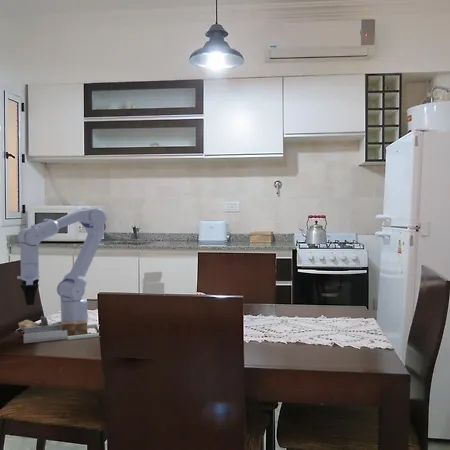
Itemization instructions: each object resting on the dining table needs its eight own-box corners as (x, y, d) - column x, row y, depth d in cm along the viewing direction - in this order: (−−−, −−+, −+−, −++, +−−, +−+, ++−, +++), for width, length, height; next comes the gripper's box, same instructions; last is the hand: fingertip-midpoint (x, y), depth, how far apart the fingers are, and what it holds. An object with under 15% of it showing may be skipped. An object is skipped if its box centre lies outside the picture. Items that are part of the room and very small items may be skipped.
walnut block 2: (86, 331, 157) (86, 320, 156) (87, 334, 153) (87, 322, 153) (74, 332, 155) (73, 321, 155) (74, 336, 151) (74, 324, 151)
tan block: (49, 331, 158) (36, 326, 164) (46, 317, 157) (33, 313, 163) (34, 338, 154) (21, 333, 160) (30, 324, 153) (17, 320, 159)
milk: (143, 337, 152) (142, 271, 151) (161, 335, 154) (160, 270, 153) (146, 342, 146) (145, 273, 145) (165, 340, 148) (164, 272, 147)
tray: (98, 328, 163) (98, 323, 162) (103, 338, 150) (102, 333, 150) (65, 331, 158) (65, 326, 158) (67, 342, 146) (67, 337, 146)
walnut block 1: (74, 332, 155) (73, 320, 155) (74, 335, 151) (74, 323, 151) (61, 333, 154) (61, 321, 153) (62, 336, 150) (61, 324, 150)
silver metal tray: (65, 332, 157) (65, 323, 157) (67, 340, 148) (67, 330, 148) (24, 336, 152) (24, 327, 152) (23, 345, 143) (23, 335, 143)
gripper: (17, 261, 162) (18, 299, 162) (15, 266, 148) (16, 308, 149) (39, 260, 164) (40, 297, 165) (39, 265, 151) (39, 306, 151)
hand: (30, 302), depth 157 cm, fingers open, 7 cm apart
